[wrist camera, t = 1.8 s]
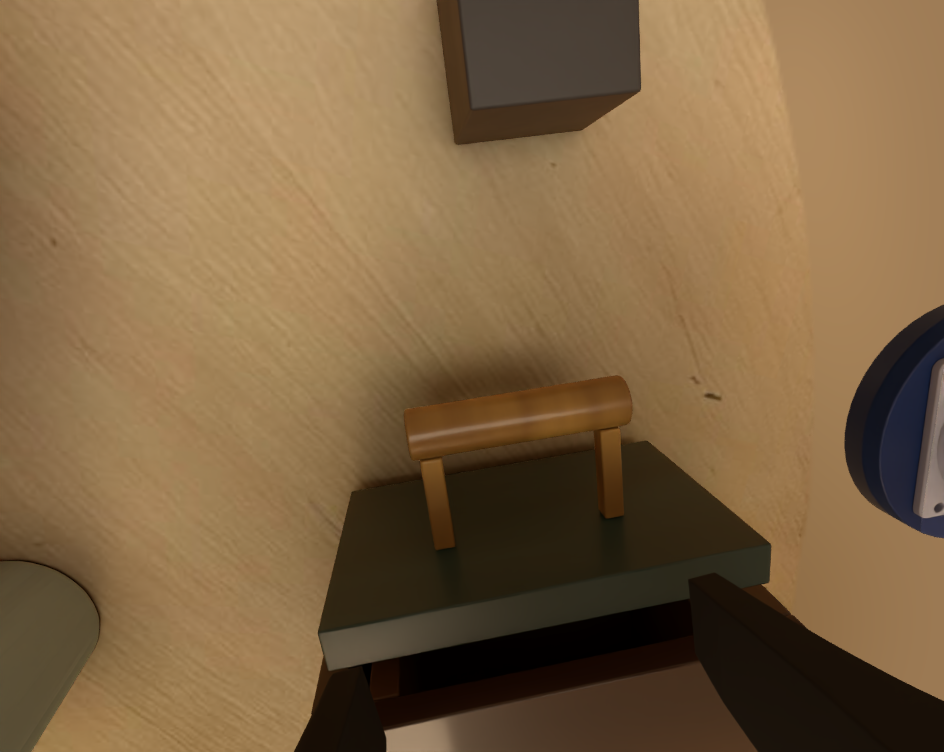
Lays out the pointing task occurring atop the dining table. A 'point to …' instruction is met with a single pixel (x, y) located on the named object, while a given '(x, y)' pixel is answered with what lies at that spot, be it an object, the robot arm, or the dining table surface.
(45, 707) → the cup
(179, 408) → the dining table surface
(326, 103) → the dining table surface
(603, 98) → the block
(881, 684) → the robot arm
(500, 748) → the cabinet
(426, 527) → the drawer
